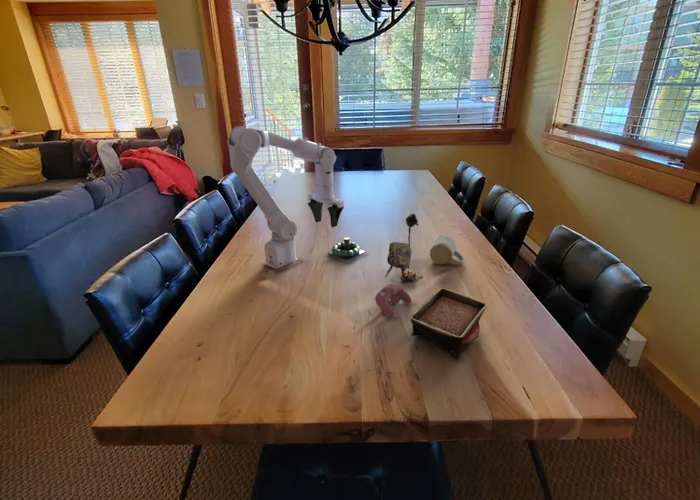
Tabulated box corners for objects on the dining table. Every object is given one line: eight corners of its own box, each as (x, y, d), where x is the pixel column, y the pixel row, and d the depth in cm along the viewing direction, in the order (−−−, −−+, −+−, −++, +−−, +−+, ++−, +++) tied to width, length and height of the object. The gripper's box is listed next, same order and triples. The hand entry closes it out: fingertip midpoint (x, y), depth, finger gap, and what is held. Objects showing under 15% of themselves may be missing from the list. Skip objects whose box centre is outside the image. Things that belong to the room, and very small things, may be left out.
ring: (347, 260, 121) (346, 254, 120) (326, 252, 126) (325, 247, 126) (365, 251, 127) (365, 245, 126) (345, 244, 133) (345, 239, 132)
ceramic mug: (428, 264, 119) (430, 242, 116) (431, 254, 126) (433, 233, 123) (462, 269, 116) (465, 246, 113) (463, 258, 123) (466, 237, 120)
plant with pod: (383, 274, 114) (384, 211, 106) (420, 274, 114) (424, 211, 106) (385, 287, 106) (387, 221, 98) (425, 287, 106) (430, 220, 98)
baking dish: (490, 339, 87) (495, 299, 84) (455, 370, 74) (460, 323, 71) (434, 321, 96) (438, 284, 94) (395, 345, 83) (397, 303, 80)
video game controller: (400, 303, 101) (391, 279, 100) (414, 302, 98) (404, 277, 97) (379, 320, 94) (369, 294, 93) (393, 318, 91) (383, 292, 90)
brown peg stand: (348, 263, 121) (347, 245, 119) (328, 256, 127) (327, 239, 124) (365, 254, 127) (365, 237, 125) (345, 248, 133) (345, 231, 130)
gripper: (349, 185, 119) (350, 225, 125) (317, 179, 128) (319, 216, 133) (334, 189, 114) (335, 231, 120) (302, 182, 123) (305, 221, 129)
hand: (326, 224), depth 126 cm, fingers open, 7 cm apart
